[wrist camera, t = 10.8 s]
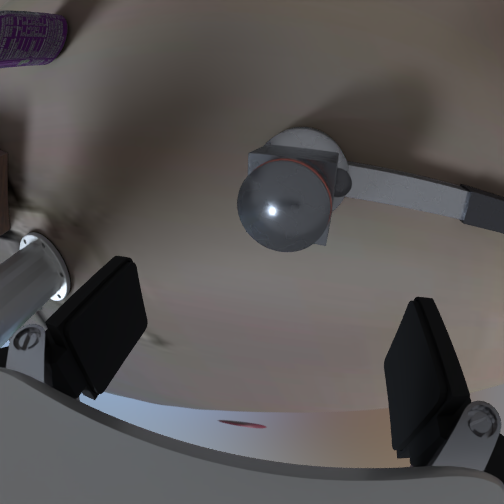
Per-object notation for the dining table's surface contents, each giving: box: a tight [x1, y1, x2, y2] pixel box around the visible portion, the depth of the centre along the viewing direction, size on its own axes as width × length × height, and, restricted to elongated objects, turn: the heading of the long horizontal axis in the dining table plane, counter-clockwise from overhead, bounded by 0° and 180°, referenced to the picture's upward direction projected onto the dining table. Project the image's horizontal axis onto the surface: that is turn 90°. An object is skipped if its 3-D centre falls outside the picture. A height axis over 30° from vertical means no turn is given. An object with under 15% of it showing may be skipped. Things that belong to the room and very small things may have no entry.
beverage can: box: [0, 11, 67, 68], centre depth 18 cm, size 7×7×12 cm
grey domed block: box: [237, 144, 339, 252], centre depth 21 cm, size 6×6×7 cm
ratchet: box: [264, 127, 504, 234], centre depth 22 cm, size 30×8×6 cm, turn 87°
